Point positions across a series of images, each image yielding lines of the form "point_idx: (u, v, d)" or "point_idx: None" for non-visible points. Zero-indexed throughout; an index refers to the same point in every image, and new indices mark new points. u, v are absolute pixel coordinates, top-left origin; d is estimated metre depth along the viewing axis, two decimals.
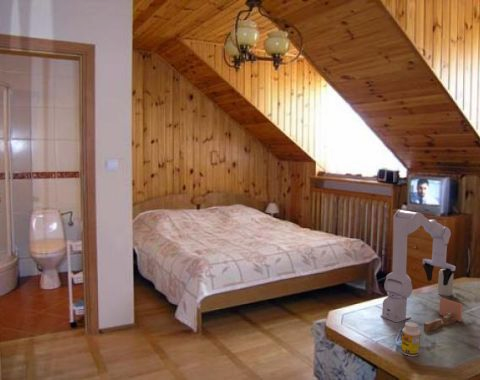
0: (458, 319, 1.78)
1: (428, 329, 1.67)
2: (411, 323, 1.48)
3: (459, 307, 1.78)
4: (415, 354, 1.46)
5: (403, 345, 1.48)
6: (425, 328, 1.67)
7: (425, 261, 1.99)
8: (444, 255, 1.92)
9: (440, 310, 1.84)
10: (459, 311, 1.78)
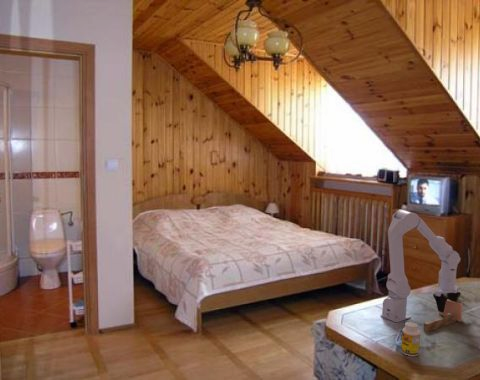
0: (458, 319, 1.78)
1: (428, 329, 1.67)
2: (411, 323, 1.48)
3: (459, 307, 1.78)
4: (415, 354, 1.46)
5: (403, 345, 1.48)
6: (425, 328, 1.67)
7: None
8: (443, 280, 1.81)
9: None
10: (459, 311, 1.78)
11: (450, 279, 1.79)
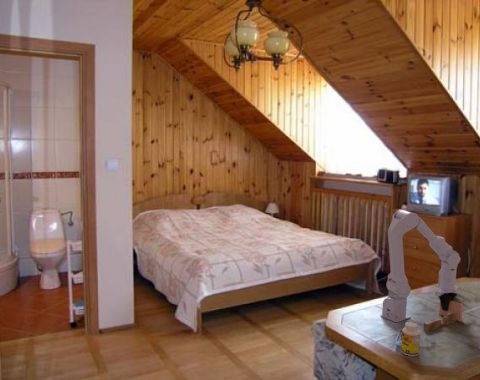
0: (458, 319, 1.78)
1: (428, 329, 1.67)
2: (411, 323, 1.48)
3: (459, 307, 1.78)
4: (415, 354, 1.46)
5: (403, 345, 1.48)
6: (425, 328, 1.67)
7: None
8: (443, 280, 1.81)
9: (440, 310, 1.84)
10: (459, 311, 1.78)
11: (450, 279, 1.79)
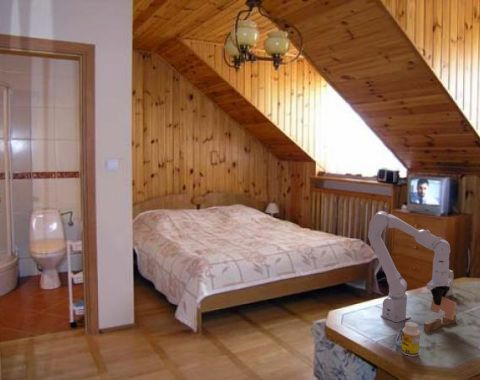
0: (450, 317, 1.69)
1: (428, 329, 1.67)
2: (411, 323, 1.48)
3: (452, 305, 1.68)
4: (415, 354, 1.46)
5: (403, 345, 1.48)
6: (425, 328, 1.67)
7: None
8: (435, 272, 1.72)
9: (432, 305, 1.76)
10: (452, 309, 1.69)
11: (438, 271, 1.70)
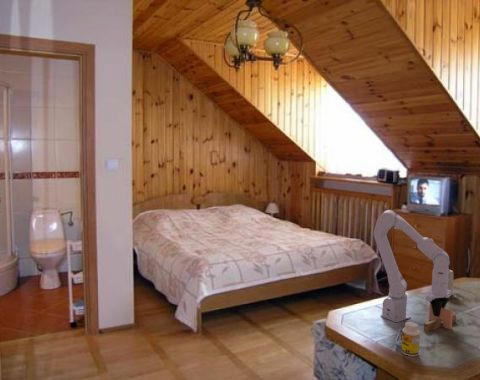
0: (448, 327, 1.70)
1: (428, 329, 1.67)
2: (411, 323, 1.48)
3: (449, 314, 1.70)
4: (415, 354, 1.46)
5: (403, 345, 1.48)
6: (425, 328, 1.67)
7: None
8: (434, 284, 1.72)
9: (430, 317, 1.76)
10: (449, 318, 1.70)
11: (437, 283, 1.71)
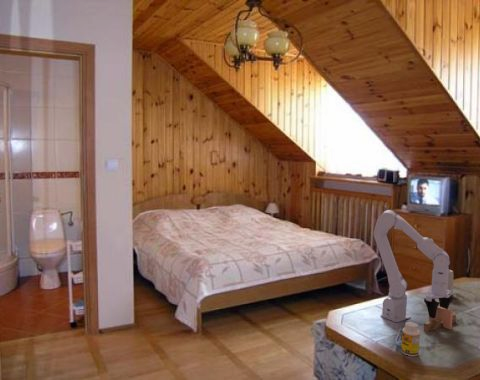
0: (448, 327, 1.70)
1: (428, 329, 1.67)
2: (411, 323, 1.48)
3: (449, 314, 1.70)
4: (415, 354, 1.46)
5: (403, 345, 1.48)
6: (425, 328, 1.67)
7: None
8: (434, 284, 1.72)
9: (430, 317, 1.76)
10: (449, 318, 1.70)
11: (437, 283, 1.71)
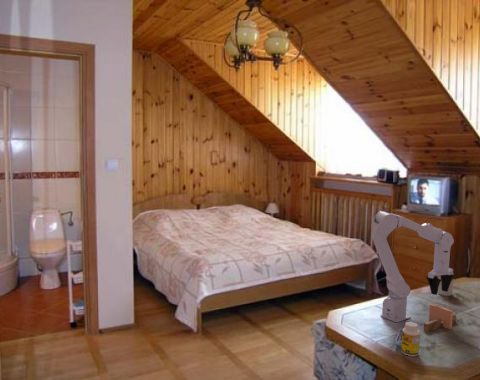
0: (448, 327, 1.70)
1: (428, 329, 1.67)
2: (411, 323, 1.48)
3: (449, 314, 1.70)
4: (415, 354, 1.46)
5: (403, 345, 1.48)
6: (425, 328, 1.67)
7: None
8: (436, 262, 1.79)
9: (430, 317, 1.76)
10: (449, 318, 1.70)
11: (443, 261, 1.77)
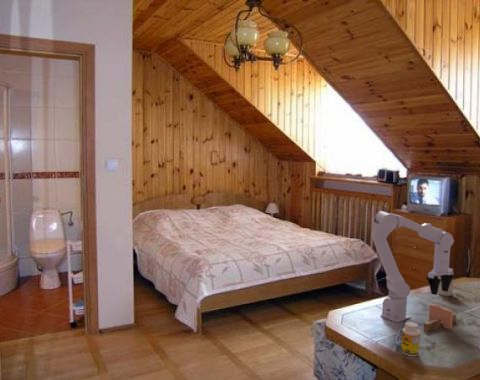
0: (448, 327, 1.70)
1: (428, 329, 1.67)
2: (411, 323, 1.48)
3: (449, 314, 1.70)
4: (415, 354, 1.46)
5: (403, 345, 1.48)
6: (425, 328, 1.67)
7: None
8: (436, 262, 1.79)
9: (430, 317, 1.76)
10: (449, 318, 1.70)
11: (443, 261, 1.77)
